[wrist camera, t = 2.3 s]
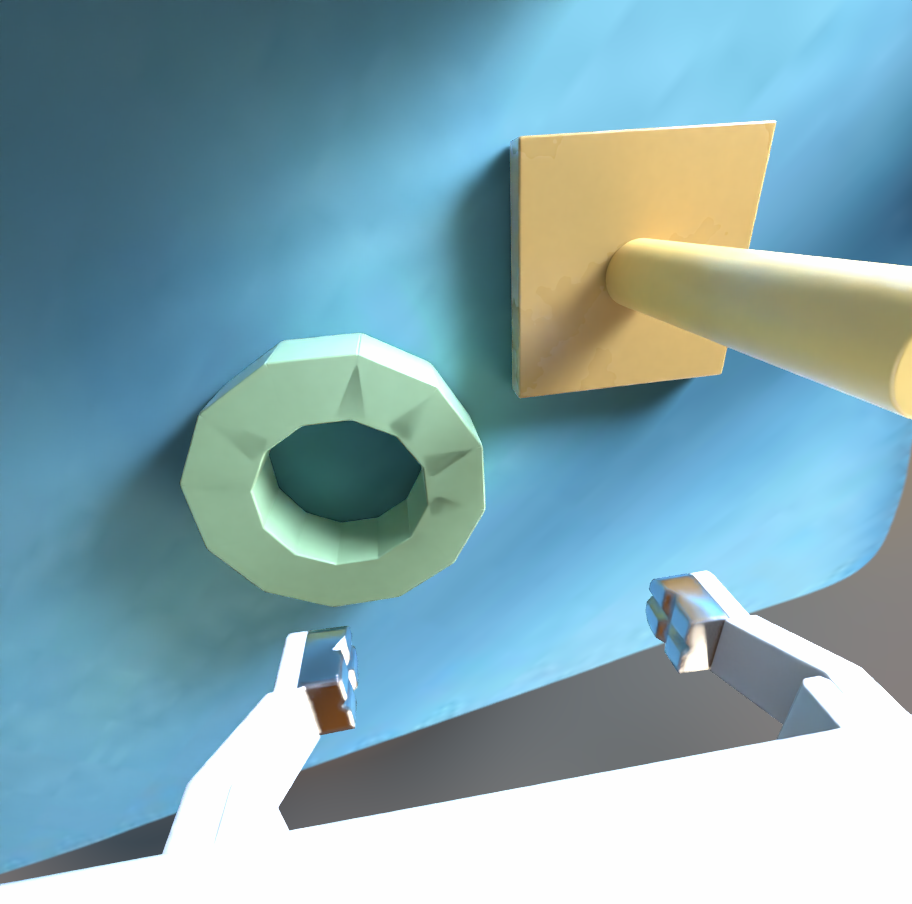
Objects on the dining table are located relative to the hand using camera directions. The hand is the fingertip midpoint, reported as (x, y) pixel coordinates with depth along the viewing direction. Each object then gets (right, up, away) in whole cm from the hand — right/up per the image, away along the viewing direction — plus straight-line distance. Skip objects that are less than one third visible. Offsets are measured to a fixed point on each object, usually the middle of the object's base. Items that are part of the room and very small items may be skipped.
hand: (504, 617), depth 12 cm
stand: (+5, +12, +6) cm, 14 cm away
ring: (-6, +4, +8) cm, 11 cm away
